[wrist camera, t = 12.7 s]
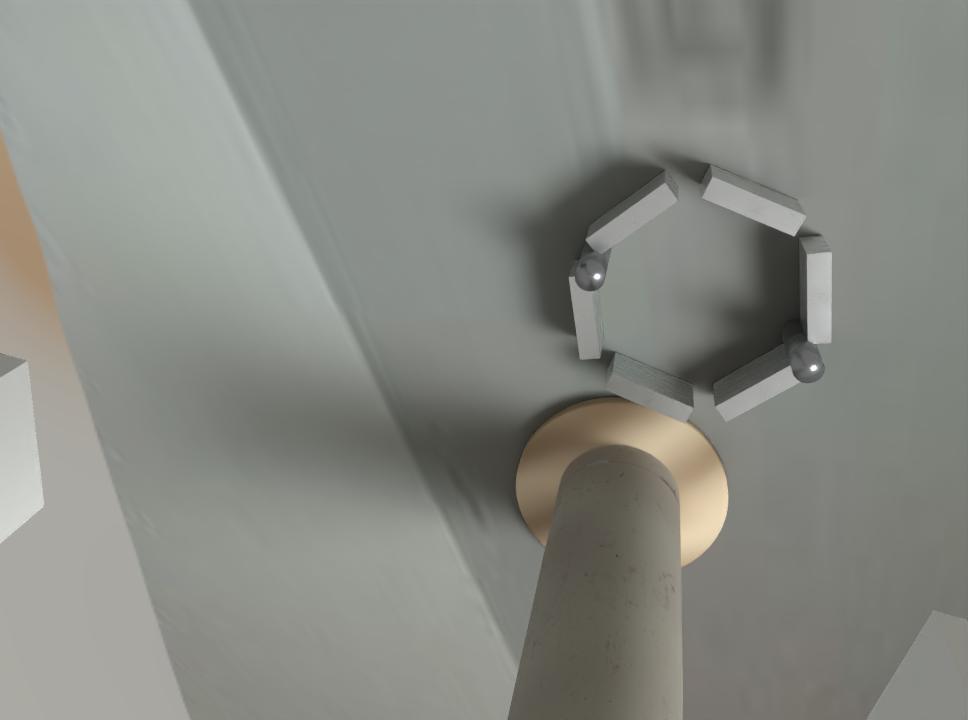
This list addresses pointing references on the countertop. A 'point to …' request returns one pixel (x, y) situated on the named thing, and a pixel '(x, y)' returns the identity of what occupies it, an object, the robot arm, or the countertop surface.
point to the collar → (751, 380)
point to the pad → (637, 429)
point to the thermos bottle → (607, 596)
